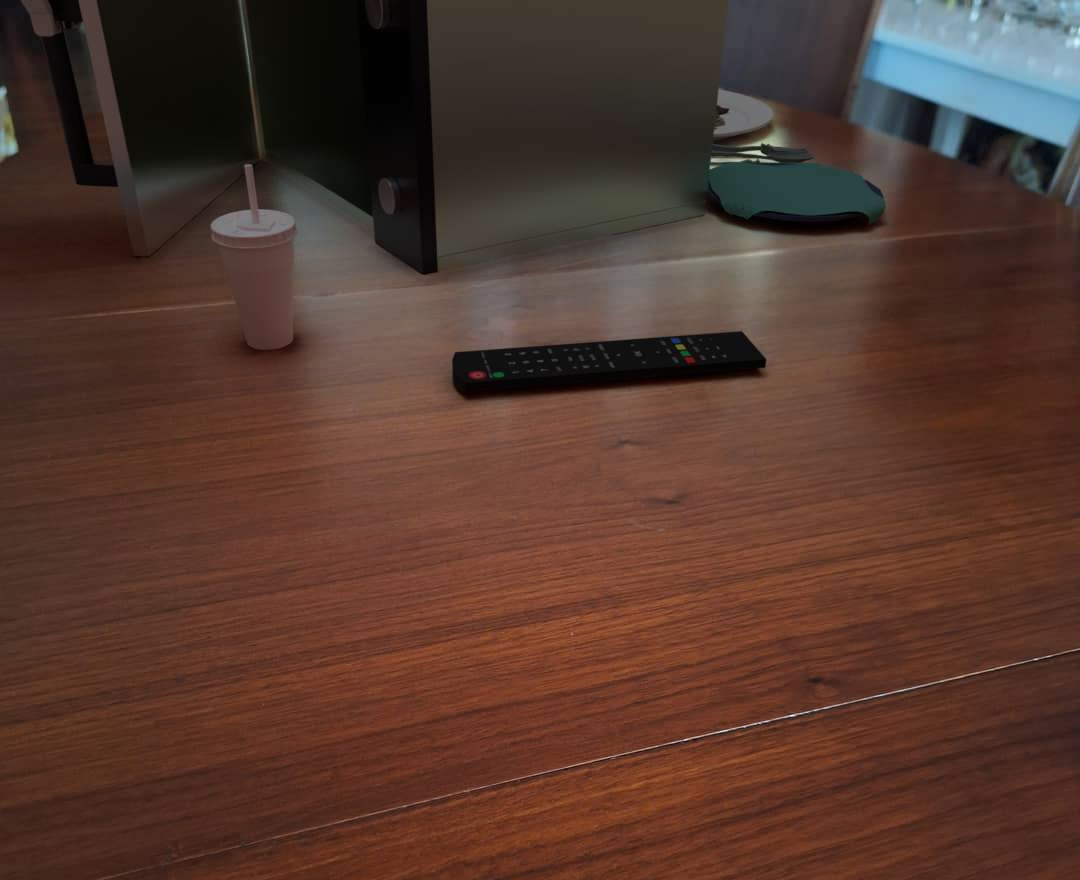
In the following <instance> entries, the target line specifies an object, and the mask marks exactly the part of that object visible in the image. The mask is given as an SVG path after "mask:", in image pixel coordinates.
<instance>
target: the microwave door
mask: <svg viewBox="0 0 1080 880" xmlns="http://www.w3.org/2000/svg"><path fill="white" fill-rule="evenodd" d="M48 2H49V4H50V6H51V8H52V10H53V11H58V14H59V18H60V24H61V27H62V30H61V32H60V33H58V34H56V35H54V36H40V39H41V43H42V47H43V51H44V56H45V60H46V65H47V68H48V72H49V76H50V81H51V85H52V89H53V93H54V97H55V98H54V99H55V102H56V106H57V110H58V114H59V118H60V123H61V126H62V131H63V135H64V140H65V144H66V147H67V148H66V149H67V152H68V155H69V161H70V163H71V164H70V165H71V168H72V174H73V177H74V182H75V184H76V185H78V186H85V187H87V186H88V187H107V188H118V191H119V195H120V200H121V204H122V209H123V214H124V218H125V223H126V227H127V233H128V237H129V242H130V246H131V251H132V255H133V256H134V257H147V258H148V257H149V258H150V257H151V256H152V255H154V253H156V251H158V250H159V249H160V248H161V247H162V246H163V245H164V244H166V243H167V242H168V241H169V240H170V239H171V238H172V237H174V236H175V235H176V234H177V233H178V232H180V231H181V230H182V229H183V228H184V227H185V226H186V225H187V224H188V223H190V221H192V219H194V218H196V216H197V215H199V213H201V212H202V211H203V210H204V209H205V208H206V207H208V206H209V205H210V204H211V203H212V202H214V200H215V199H217V198H218V197H219V196H220V195H221V194H222V193H223V192H225V191H226V190H227V189H228V188H229V187H230V186H232V184H233V183H235V182H236V181H237V180H238V179H239V178H241V176H243V175H244V174H245V167H244V165H248V164H250V165H252V167H254V166H255V164H256V163H257V162H259V161H260V160H261V158H260V151H259V143H258V135H257V128H256V122H255V120H256V119H255V115H254V113H255V112H254V106H253V99H252V92H251V91H252V90H251V84H250V76H249V70H248V69H249V68H248V61H247V56H246V55H247V54H246V47H245V41H244V40H245V39H244V32H243V24H242V19H241V11H240V4H239V0H48ZM62 21H65V22H81V23H83V28H84V34H85V37H86V42H87V46H88V52H89V57H90V61H91V64H92V71H93V76H94V80H95V84H96V88H97V93H98V97H99V102H100V107H101V111H102V117H103V121H104V125H105V130H106V135H107V141H108V145H109V149H110V154H111V158H97V157H96V158H95V157H94V156H93V151H92V147H91V142H90V138H89V134H88V128H87V124H86V120H85V116H84V112H83V106H82V103H81V98H80V93H79V89H78V85H77V80H76V76H75V71H74V66H73V63H72V59H71V54H70V50H69V45H68V41H67V37H66V32H65V31H66V30H65V29H64V27H63V22H62Z"/></svg>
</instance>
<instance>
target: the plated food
mask: <svg viewBox="0 0 1080 880" xmlns="http://www.w3.org/2000/svg"><path fill="white" fill-rule="evenodd" d="M774 115H775V112H774V111H773V109H772V107H771V106H769V105H768V104H766V103H765V102H763V101H761V100H759V99H756V98H754V97H751V96H748V95H745V94H742V93H737V92H734V91H729V90H723V89H719V90H718V99H717V109H716V118H715V127H714V136H713V141H720V140H725V139H729V138H732V137H735V136H737V135H742V134H746V133H751V132H754V131H755V132H756V131H757V130H760V129H762V128H765V127H766V126H768V125H769V124H770V123H772V122H773V119H774V117H775V116H774Z"/></svg>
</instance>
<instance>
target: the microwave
mask: <svg viewBox="0 0 1080 880" xmlns="http://www.w3.org/2000/svg"><path fill="white" fill-rule="evenodd" d="M240 4H241V11H242V18H243V19H242V20H243V26H244V33H245V42H246V50H247V56H248V63H249V64H248V65H249V70H250V71H249V72H250V78H251V85H252V94H253V102H254V110H255V116H256V122H257V123H256V125H257V130H258V131H257V132H258V138H259V146H260V153H261V159H262V160H263V161H265V162H266V163H268V164H269V165H271V166H273V167H274V168H276V169H277V170H279V171H281V172H282V173H283V174H285V175H287V176H288V177H290V178H291V179H292V180H294V181H296V182H297V183H299V184H301V185H302V186H304V187H305V188H307V189H309V190H310V191H311V192H313V193H314V194H316V195H318V196H319V197H321V198H322V199H324V200H325V201H327V202H329V204H332V205H333V206H335V207H336V208H337V209H339V210H341V211H342V212H344V213H345V214H347V215H349V216H350V217H352V218H353V219H355V220H357V221H358V222H359V223H361V224H363V225H364V226H365V227H368V228H369V229H371V230H372V231H373V235H374V243H375V244H377V245H378V246H380V247H382V248H383V249H385V250H386V251H388V252H389V253H390V254H392V255H394V256H395V257H397V258H398V259H400V260H401V261H402V262H404V263H406V264H407V265H408V266H411V268H413V269H415V270H416V271H417V272H420V273H421V274H429V273H433V272H437V273H439V272H445V271H449V270H454V269H458V268H463V267H468V266H473V265H477V264H481V263H486V262H491V261H495V260H501V259H504V258H510V257H513V256H514V257H515V256H518V255H522V254H523V255H524V254H527V253H531V252H536V251H541V250H546V249H550V248H556V247H560V246H565V245H569V244H573V243H574V244H575V243H579V242H583V241H588V240H592V239H597V238H601V237H606V236H610V235H611V236H614V235H619V234H622V233H628V232H632V231H637V230H641V229H642V230H643V229H646V228H650V227H656V226H660V225H664V224H665V225H666V224H669V223H673V222H678V221H683V220H687V219H692V218H697V217H700V216H705V215H706V207H707V198H708V196H707V190H708V181H709V172H710V169H711V165H710V163H711V162H712V157H711V154H712V145H713V144H714V140H713V136H714V127H715V118H716V109H717V99H718V90H720V81H721V80H720V79H721V73H722V64H723V63H722V60H723V52H724V44H725V35H726V25H727V18H728V17H727V16H728V8H729V6H728V5H729V0H240Z"/></svg>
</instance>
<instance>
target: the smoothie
mask: <svg viewBox="0 0 1080 880" xmlns="http://www.w3.org/2000/svg"><path fill="white" fill-rule="evenodd" d="M244 167H245V173H244V174H245V180H246V187H247V193H248V194H247V195H248V201H249V209H244V210H238V211H233V212H228V213H226V214H223V215H221V216H219V217H216V218H215V219H214V220H213V221H211V223H210V230H211V240H212V241H213V242H214V243H215V244H217V245H218V249H219V253H220V257H221V260H222V264H223V266H224V270H225V273H226V277H227V280H228V283H229V287H230V291H231V294H232V296H233V300H234V303H235V307H236V310H237V314H238V317H239V321H240V324H241V327H242V330H243V333H244V334H243V335H244V338H245V341H246V344H247V346H249V347H250V348H253V349H255V350H260V351H261V350H263V351H269V350H271V351H272V350H278V349H281V348H285V347H287V346H288V345H290V344H291V343H292V342H293V341H294V256H295V255H294V253H295V252H294V239H295V238H296V236H297V235H298V230H297V225H296V218H295V217H293V215H291V214H289V213H286V212H283V211H280V210H276V209H275V210H274V209H259V204H258V198H257V190H256V183H255V177H254V169H253V166H252V165H250V164H248V165H244Z"/></svg>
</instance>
